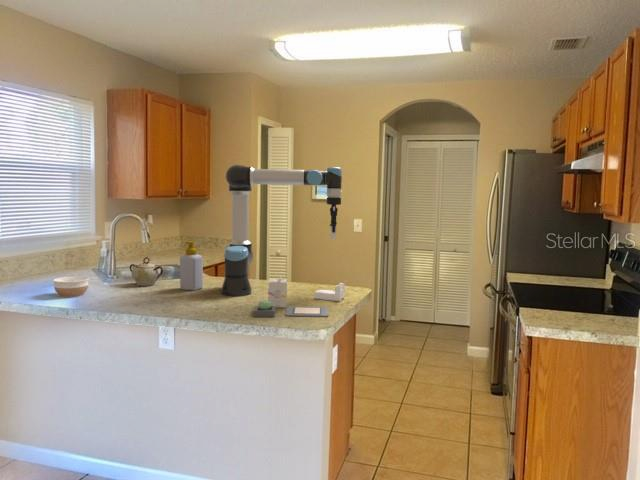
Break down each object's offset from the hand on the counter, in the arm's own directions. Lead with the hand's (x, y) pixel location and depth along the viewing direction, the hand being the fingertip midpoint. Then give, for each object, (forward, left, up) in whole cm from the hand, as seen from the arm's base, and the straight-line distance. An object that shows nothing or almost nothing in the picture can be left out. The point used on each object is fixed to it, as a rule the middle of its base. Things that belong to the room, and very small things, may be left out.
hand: (333, 237), depth 279 cm
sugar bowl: (-101, +6, -28) cm, 105 cm away
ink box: (-26, -39, -28) cm, 55 cm away
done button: (-30, -56, -26) cm, 68 cm away
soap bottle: (-74, -4, -28) cm, 79 cm away
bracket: (-2, -22, -28) cm, 36 cm away
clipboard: (-12, -51, -28) cm, 59 cm away
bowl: (-128, -23, -28) cm, 133 cm away
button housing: (-30, -56, -28) cm, 69 cm away
